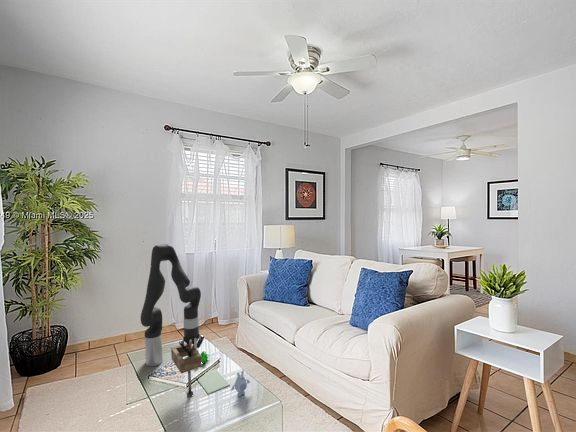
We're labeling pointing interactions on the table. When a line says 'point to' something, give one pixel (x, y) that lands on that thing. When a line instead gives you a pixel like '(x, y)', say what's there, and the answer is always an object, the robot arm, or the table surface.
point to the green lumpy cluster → (203, 357)
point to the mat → (213, 381)
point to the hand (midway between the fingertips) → (192, 356)
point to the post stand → (189, 384)
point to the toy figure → (240, 384)
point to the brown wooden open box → (188, 362)
